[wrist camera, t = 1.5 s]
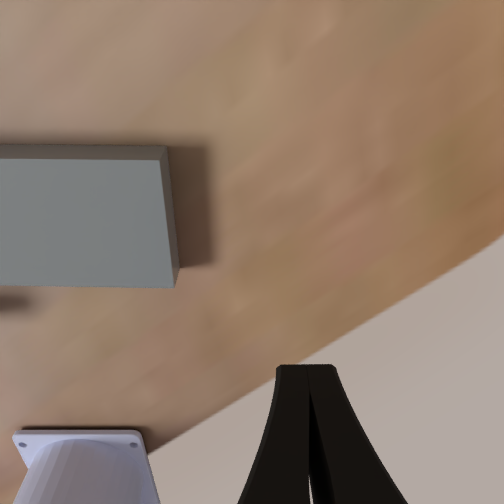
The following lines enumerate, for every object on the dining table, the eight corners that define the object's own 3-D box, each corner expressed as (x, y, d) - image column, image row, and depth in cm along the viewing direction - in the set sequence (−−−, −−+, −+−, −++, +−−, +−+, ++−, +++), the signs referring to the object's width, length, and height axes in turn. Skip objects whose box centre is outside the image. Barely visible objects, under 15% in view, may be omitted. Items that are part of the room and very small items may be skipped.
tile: (181, 262, 22) (174, 288, 20) (-24, 259, 22) (-48, 284, 21) (169, 141, 19) (159, 160, 17) (-72, 139, 19) (-105, 157, 17)
